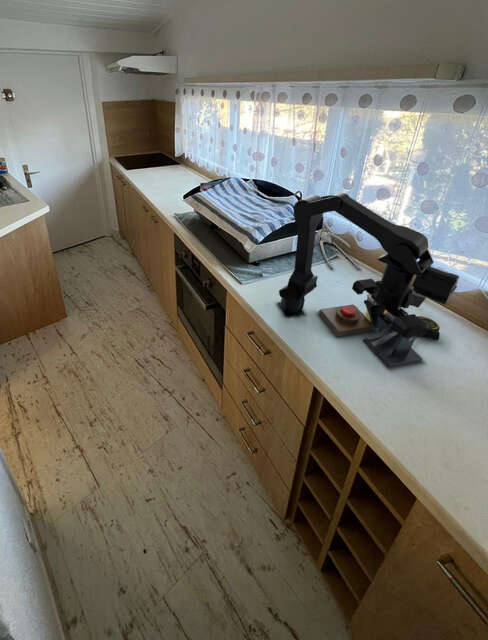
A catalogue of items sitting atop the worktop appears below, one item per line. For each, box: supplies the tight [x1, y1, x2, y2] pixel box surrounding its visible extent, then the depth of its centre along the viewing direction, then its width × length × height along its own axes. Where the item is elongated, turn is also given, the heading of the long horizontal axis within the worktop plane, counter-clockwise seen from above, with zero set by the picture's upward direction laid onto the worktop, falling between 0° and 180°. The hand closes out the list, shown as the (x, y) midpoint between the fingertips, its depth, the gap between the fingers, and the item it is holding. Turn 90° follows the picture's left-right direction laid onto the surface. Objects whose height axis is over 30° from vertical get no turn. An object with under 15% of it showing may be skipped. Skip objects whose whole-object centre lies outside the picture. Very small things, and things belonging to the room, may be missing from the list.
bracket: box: [367, 324, 423, 368], centre depth 84 cm, size 10×9×10 cm
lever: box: [362, 329, 400, 357], centre depth 83 cm, size 11×5×2 cm, turn 99°
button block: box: [318, 304, 375, 337], centre depth 96 cm, size 12×10×4 cm
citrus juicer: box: [319, 231, 361, 270], centre depth 135 cm, size 11×10×30 cm
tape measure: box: [417, 315, 441, 342], centre depth 92 cm, size 7×7×4 cm
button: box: [341, 305, 355, 318], centre depth 95 cm, size 4×4×2 cm
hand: (376, 330), depth 80 cm, fingers closed
